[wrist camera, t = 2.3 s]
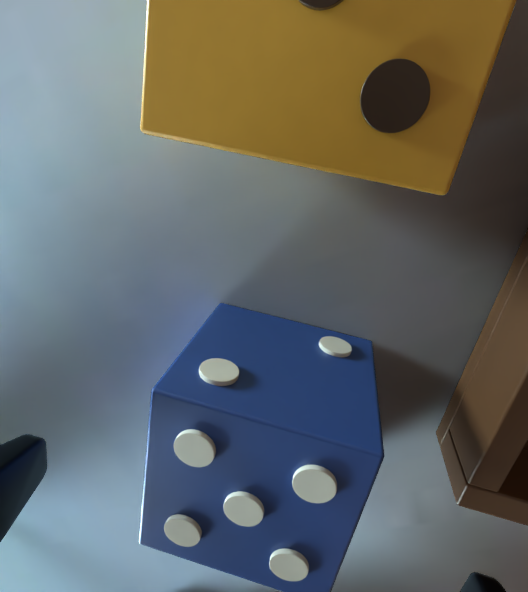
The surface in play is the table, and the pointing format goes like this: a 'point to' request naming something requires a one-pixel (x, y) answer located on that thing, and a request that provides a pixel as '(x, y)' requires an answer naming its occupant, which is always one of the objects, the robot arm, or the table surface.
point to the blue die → (262, 449)
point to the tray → (493, 409)
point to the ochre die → (324, 81)
